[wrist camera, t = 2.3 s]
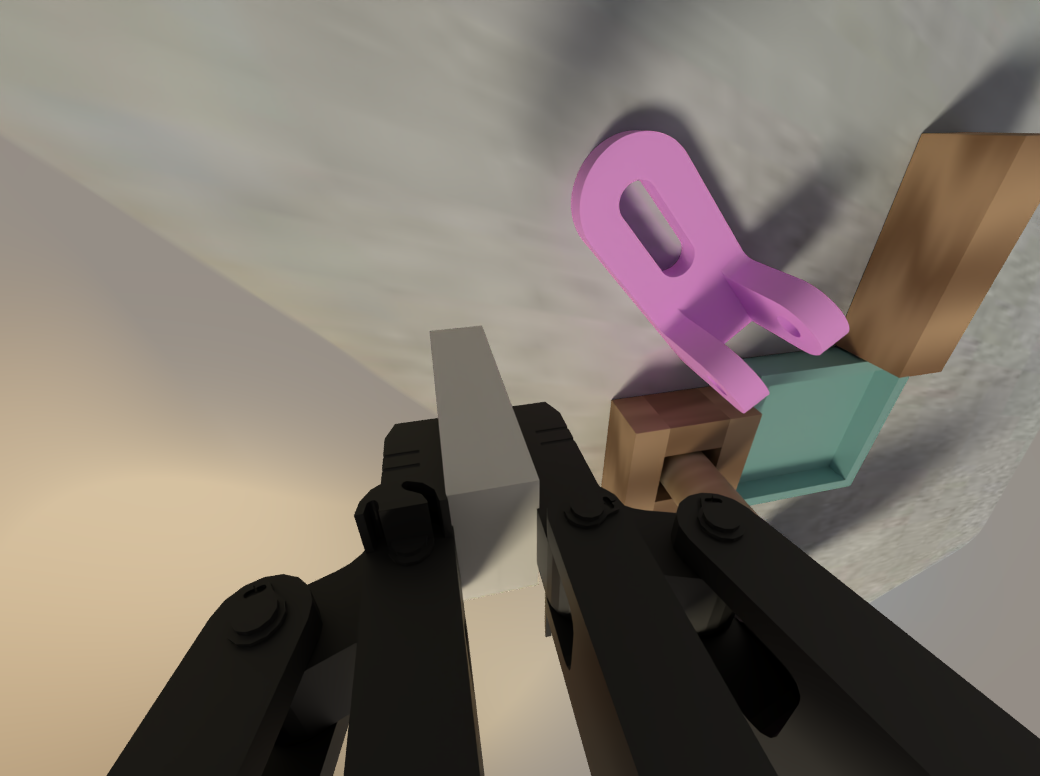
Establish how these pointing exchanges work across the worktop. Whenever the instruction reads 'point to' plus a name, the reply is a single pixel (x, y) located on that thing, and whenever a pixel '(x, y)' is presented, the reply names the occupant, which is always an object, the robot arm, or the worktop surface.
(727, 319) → the bracket
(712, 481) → the dowel
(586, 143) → the worktop surface
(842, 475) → the tray
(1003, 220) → the block
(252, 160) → the worktop surface
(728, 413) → the socket block
